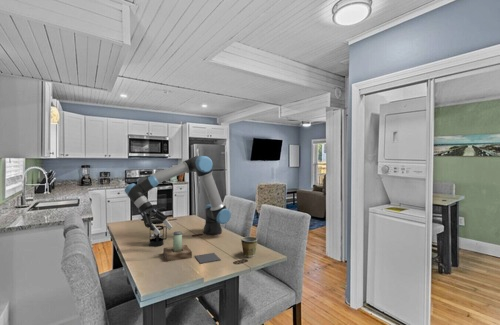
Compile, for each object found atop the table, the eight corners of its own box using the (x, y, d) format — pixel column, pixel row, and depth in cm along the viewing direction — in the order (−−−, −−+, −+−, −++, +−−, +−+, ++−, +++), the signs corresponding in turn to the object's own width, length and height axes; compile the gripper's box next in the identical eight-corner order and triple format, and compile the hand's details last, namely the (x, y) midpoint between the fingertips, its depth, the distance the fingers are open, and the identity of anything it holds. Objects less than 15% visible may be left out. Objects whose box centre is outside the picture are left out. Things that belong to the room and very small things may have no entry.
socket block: (186, 250, 161) (186, 244, 161) (191, 257, 149) (191, 251, 149) (163, 253, 155) (163, 247, 155) (167, 261, 143) (167, 255, 143)
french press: (148, 247, 165) (149, 212, 166) (147, 243, 174) (147, 210, 174) (167, 245, 171) (168, 211, 171) (165, 241, 179) (165, 209, 179)
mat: (213, 253, 156) (213, 252, 156) (220, 260, 146) (220, 259, 146) (194, 256, 151) (194, 255, 151) (200, 263, 140) (200, 262, 140)
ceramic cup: (259, 257, 151) (259, 240, 152) (243, 259, 149) (243, 242, 149) (252, 250, 164) (253, 234, 164) (238, 251, 161) (238, 235, 161)
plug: (180, 253, 155) (181, 231, 155) (182, 256, 151) (182, 233, 151) (172, 254, 153) (172, 231, 153) (173, 257, 149) (174, 234, 149)
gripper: (151, 205, 170) (171, 229, 166) (125, 212, 145) (148, 241, 142) (159, 198, 168) (179, 222, 165) (134, 203, 144) (156, 232, 141)
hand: (164, 231), depth 153 cm, fingers open, 13 cm apart
